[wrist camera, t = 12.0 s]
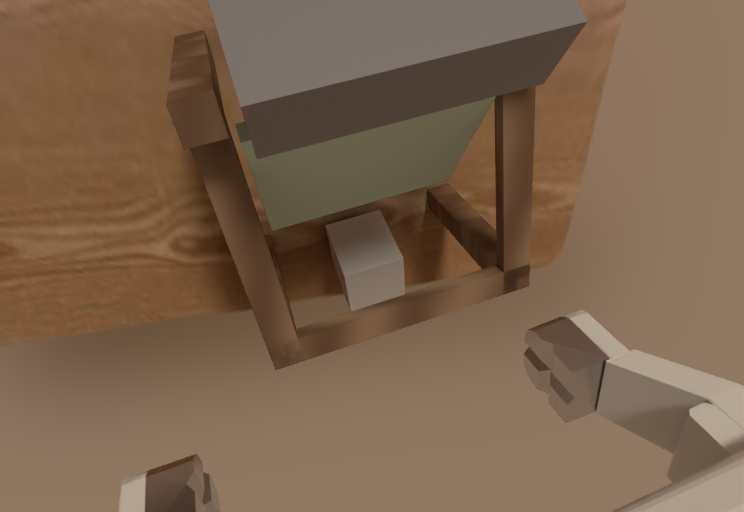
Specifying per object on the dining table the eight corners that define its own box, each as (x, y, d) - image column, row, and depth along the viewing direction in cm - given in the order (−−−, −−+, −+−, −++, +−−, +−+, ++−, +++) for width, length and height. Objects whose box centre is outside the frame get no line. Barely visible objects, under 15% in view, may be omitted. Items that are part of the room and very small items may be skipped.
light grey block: (351, 311, 44) (332, 261, 48) (405, 294, 45) (382, 246, 49) (344, 276, 40) (325, 225, 44) (403, 258, 41) (379, 209, 45)
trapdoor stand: (253, 259, 45) (281, 397, 32) (174, 36, 34) (166, 105, 21) (449, 202, 48) (548, 306, 35) (432, -20, 37) (567, 8, 24)
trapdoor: (259, 188, 38) (281, 262, 37) (181, -37, 18) (225, 110, 17) (432, 141, 40) (458, 209, 39) (536, -107, 20) (599, 18, 19)
